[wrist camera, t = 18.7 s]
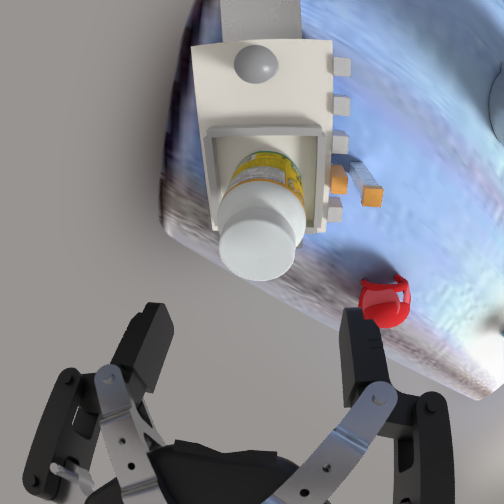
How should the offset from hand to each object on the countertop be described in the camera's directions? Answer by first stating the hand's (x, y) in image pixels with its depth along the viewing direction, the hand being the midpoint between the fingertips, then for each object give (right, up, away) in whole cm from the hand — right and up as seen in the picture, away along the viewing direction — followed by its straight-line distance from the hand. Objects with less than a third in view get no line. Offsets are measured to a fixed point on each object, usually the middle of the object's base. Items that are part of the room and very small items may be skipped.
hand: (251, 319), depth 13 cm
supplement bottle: (+1, +9, +10) cm, 14 cm away
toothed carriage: (+2, +12, +9) cm, 15 cm away
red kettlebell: (+15, -1, +19) cm, 25 cm away
